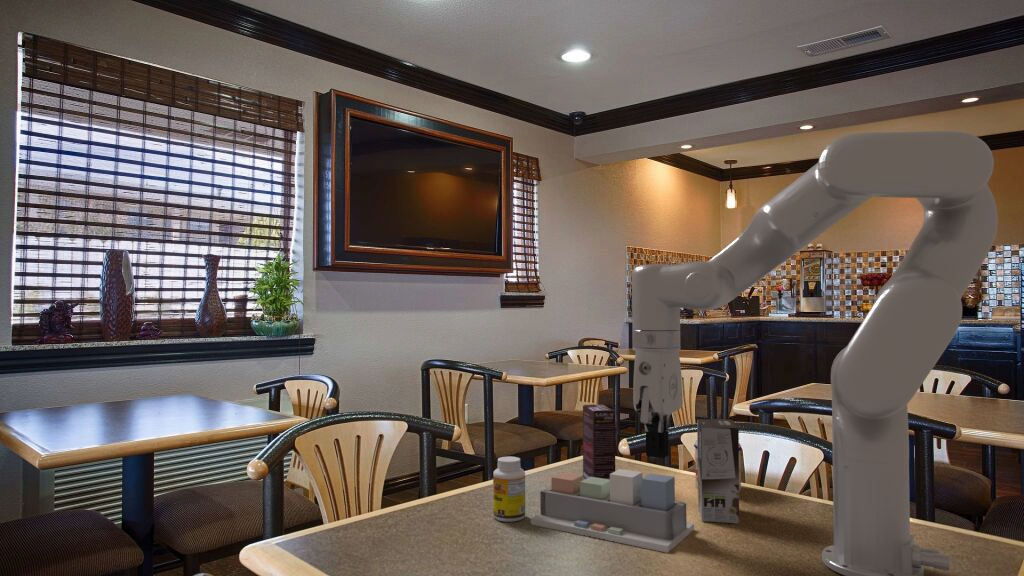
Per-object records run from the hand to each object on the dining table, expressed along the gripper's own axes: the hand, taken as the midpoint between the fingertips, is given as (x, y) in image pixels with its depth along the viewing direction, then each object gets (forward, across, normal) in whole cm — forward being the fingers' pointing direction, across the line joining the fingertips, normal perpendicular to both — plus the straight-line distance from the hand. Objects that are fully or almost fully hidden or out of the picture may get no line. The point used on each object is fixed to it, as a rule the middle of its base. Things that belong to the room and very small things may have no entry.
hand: (657, 456), depth 109 cm
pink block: (+11, 0, +16) cm, 19 cm away
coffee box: (+13, +16, -5) cm, 21 cm away
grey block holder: (+13, 0, +8) cm, 15 cm away
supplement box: (+13, +22, +21) cm, 33 cm away
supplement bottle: (+13, -5, +25) cm, 29 cm away
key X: (+8, 0, +5) cm, 10 cm away
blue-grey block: (+8, 0, 0) cm, 8 cm away
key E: (+10, 0, +11) cm, 15 cm away
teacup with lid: (+13, +31, -1) cm, 34 cm away
